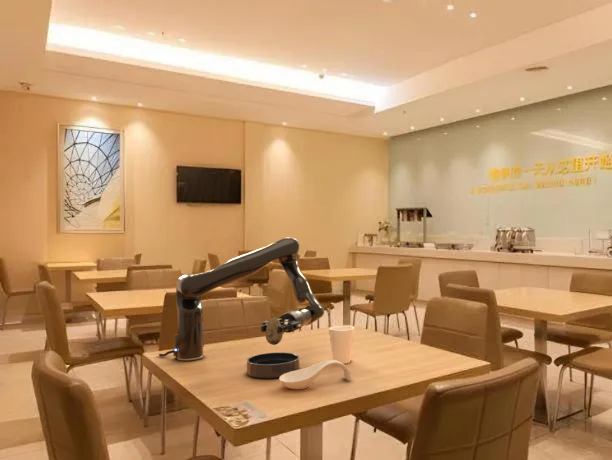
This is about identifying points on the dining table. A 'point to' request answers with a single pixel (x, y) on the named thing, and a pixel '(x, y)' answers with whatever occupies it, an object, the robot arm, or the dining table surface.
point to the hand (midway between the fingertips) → (270, 329)
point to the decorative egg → (273, 331)
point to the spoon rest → (309, 375)
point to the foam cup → (341, 342)
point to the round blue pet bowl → (272, 364)
